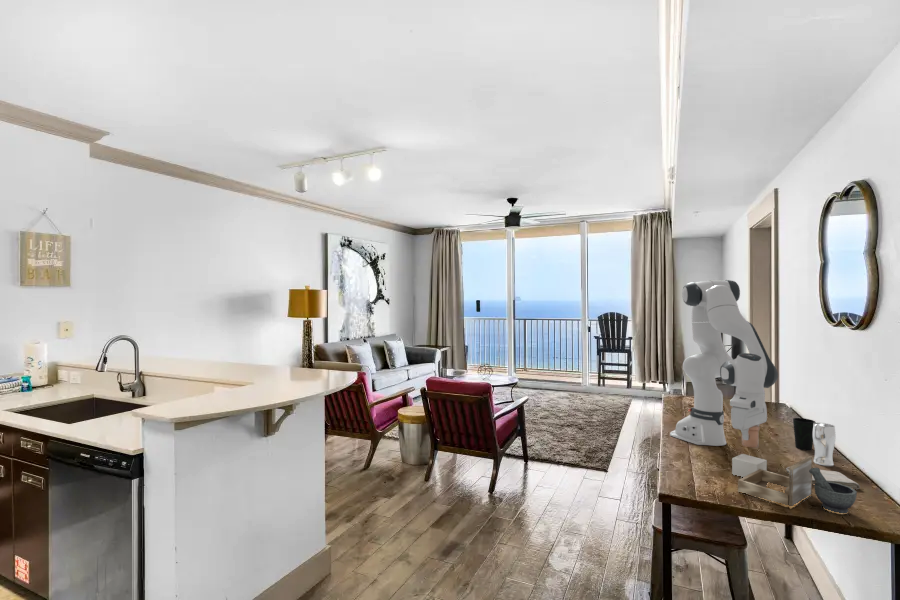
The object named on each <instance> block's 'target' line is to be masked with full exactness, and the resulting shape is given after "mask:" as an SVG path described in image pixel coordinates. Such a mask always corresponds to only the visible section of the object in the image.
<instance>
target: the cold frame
mask: <svg viewBox="0 0 900 600" xmlns="http://www.w3.org/2000/svg"><path fill="white" fill-rule="evenodd" d="M788 467H789V475H788V476H786V475H783V474H779V473H775V472H772V471H768V470H767V471H766V470H762V469H759V470H757V471H755V472H753V473H751V474H749V475H747V476H745V477H743V478H742V477H740V478H738V480H737V493H739V492H742V493H746V494H749V495H752V496H756V497H760V498H764V499H767V500H771V501H775V502H778V503H782V504H785V505H789V506H793V505H794V504H796V503H798V502H799V501H801V500H802V499H804V498H806V497H807V496H809V495H811V494H812V495H813V485H812V474H811V473H810V472H809V470H810V469H812V468H813V456H812V455H808V456H807V457H805V458H803V459H801V460H798V461H797V462H795V463H794V464H791V465H790V466H788ZM768 482H770V483H773V484H777V485H781V486H784V487H787V488H786V490H785V493H783V492H780V491H776V490H773V489H770V488H766V487H767V486H766V485H767V483H768ZM742 493H741V494H742Z"/></svg>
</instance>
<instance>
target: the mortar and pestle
mask: <svg viewBox="0 0 900 600" xmlns="http://www.w3.org/2000/svg"><path fill="white" fill-rule="evenodd" d="M820 470H821V469H820V468H819V467H812V469H810V470H809V472H810V473H811V474H812V475H813V477H814V479H815V481H816V483H815V485H814V492H815V493H814V494H815V496H816V498H817V500H819V501H820V502H821V507H822V506H823V507H824V508H825V509H828V510H831V511H834V512H839V513H847V512H848V513H849V509H850V508H851V507H852V506H853V505H854V504H855V503H856V501H857V496H858V495H857V494H858V491H856V490H855V489H852V488H851V487H848V486H845V485H842V484H839V483H833V482H827V481H826V479H825V478H824V476H823V475H822V474H821V472H820Z"/></svg>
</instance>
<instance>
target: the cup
mask: <svg viewBox="0 0 900 600" xmlns="http://www.w3.org/2000/svg"><path fill="white" fill-rule="evenodd" d="M792 423H793V424H792V426H793V435H794V444H795V446H794V447H795V448H796V449H798V450H801V451H808V452H809V451H812V450H813V447H814V443H813V436H812V433H813V423H817V422H816V420H814V419H810V418H803V417H794V418H792Z"/></svg>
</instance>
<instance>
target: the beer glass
mask: <svg viewBox="0 0 900 600" xmlns="http://www.w3.org/2000/svg"><path fill="white" fill-rule="evenodd" d="M812 436H813V447H814V457H813V459H812V462H813V463H814V464H816V465H820V466H823V467H834V461H833V460H834V459H833V453H834V449H835V445H836V440H837V439H836V426H835V425H834V424H830V423H825V422H816V423H813V433H812Z"/></svg>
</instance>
